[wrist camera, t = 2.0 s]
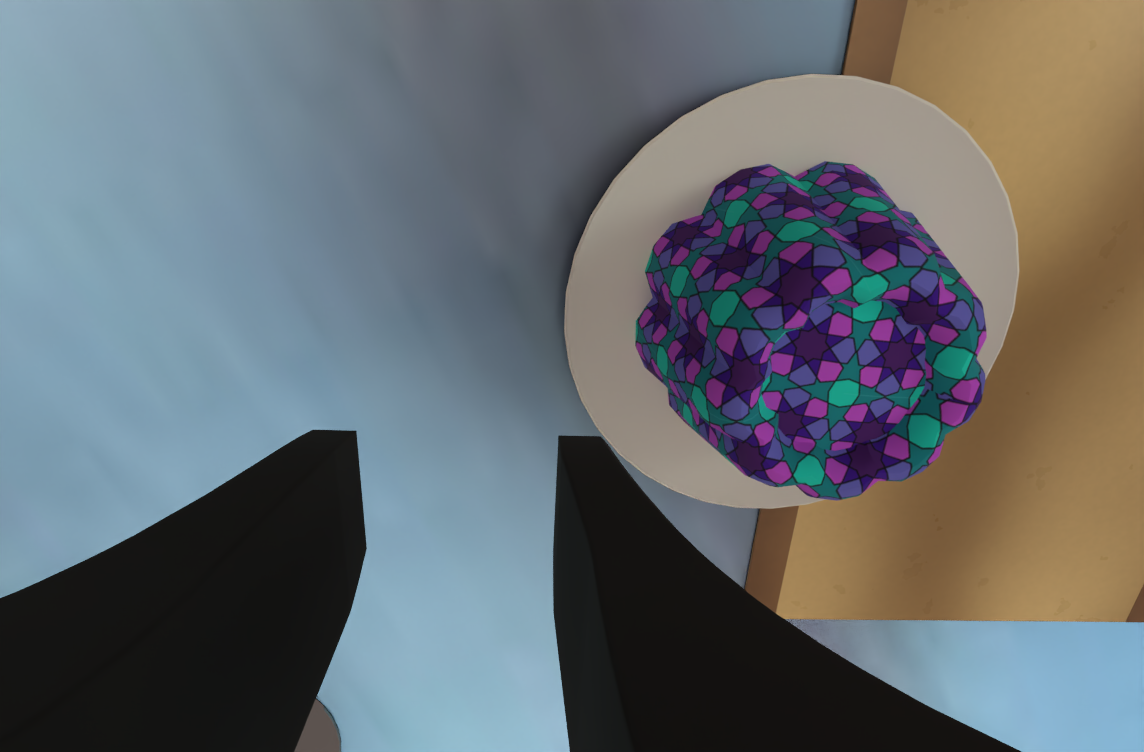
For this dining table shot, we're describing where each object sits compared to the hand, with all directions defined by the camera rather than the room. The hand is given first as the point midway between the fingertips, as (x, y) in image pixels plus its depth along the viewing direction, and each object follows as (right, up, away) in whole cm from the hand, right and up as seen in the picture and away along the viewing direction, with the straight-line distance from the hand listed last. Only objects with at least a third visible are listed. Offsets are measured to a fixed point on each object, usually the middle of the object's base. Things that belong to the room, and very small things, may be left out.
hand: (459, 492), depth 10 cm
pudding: (+7, +4, +9) cm, 12 cm away
